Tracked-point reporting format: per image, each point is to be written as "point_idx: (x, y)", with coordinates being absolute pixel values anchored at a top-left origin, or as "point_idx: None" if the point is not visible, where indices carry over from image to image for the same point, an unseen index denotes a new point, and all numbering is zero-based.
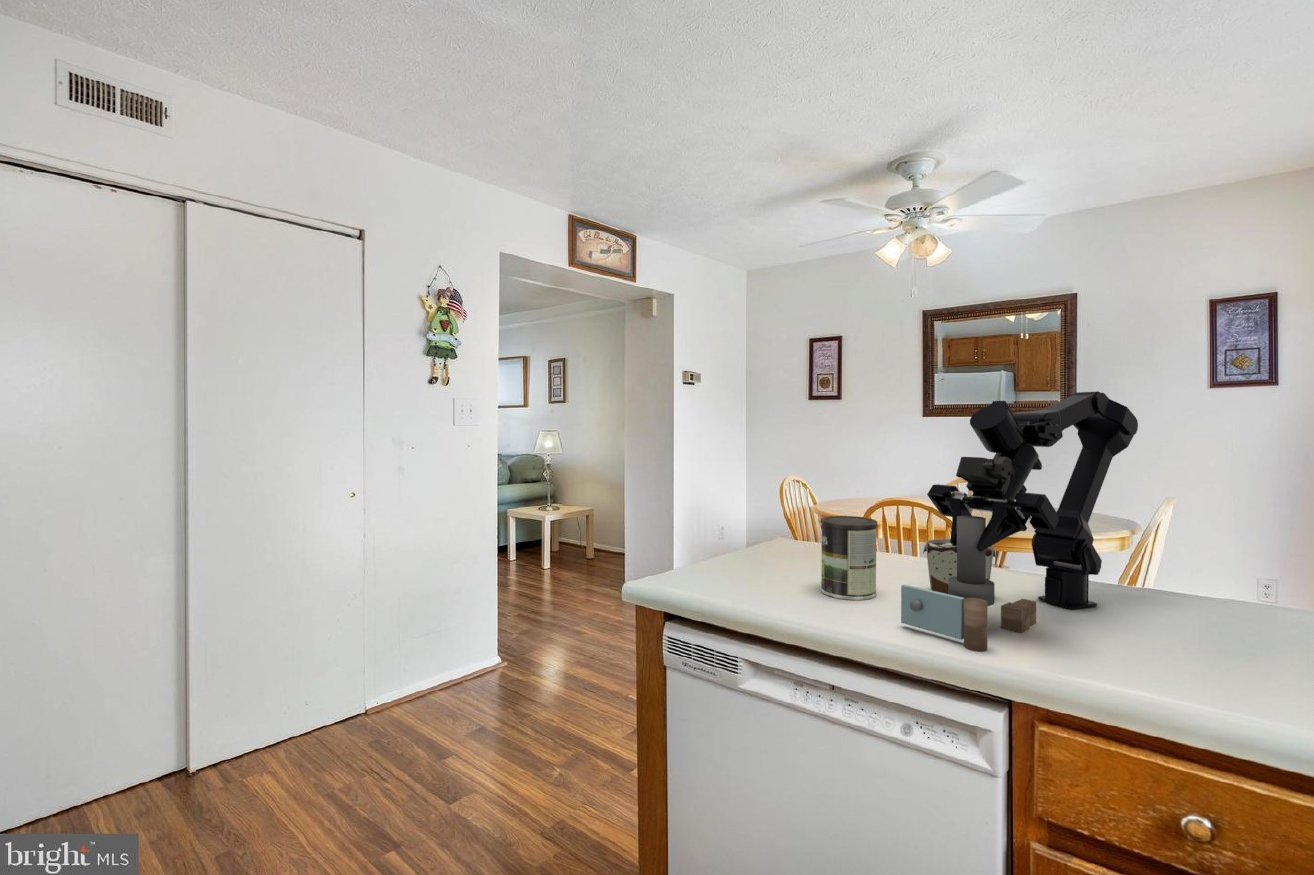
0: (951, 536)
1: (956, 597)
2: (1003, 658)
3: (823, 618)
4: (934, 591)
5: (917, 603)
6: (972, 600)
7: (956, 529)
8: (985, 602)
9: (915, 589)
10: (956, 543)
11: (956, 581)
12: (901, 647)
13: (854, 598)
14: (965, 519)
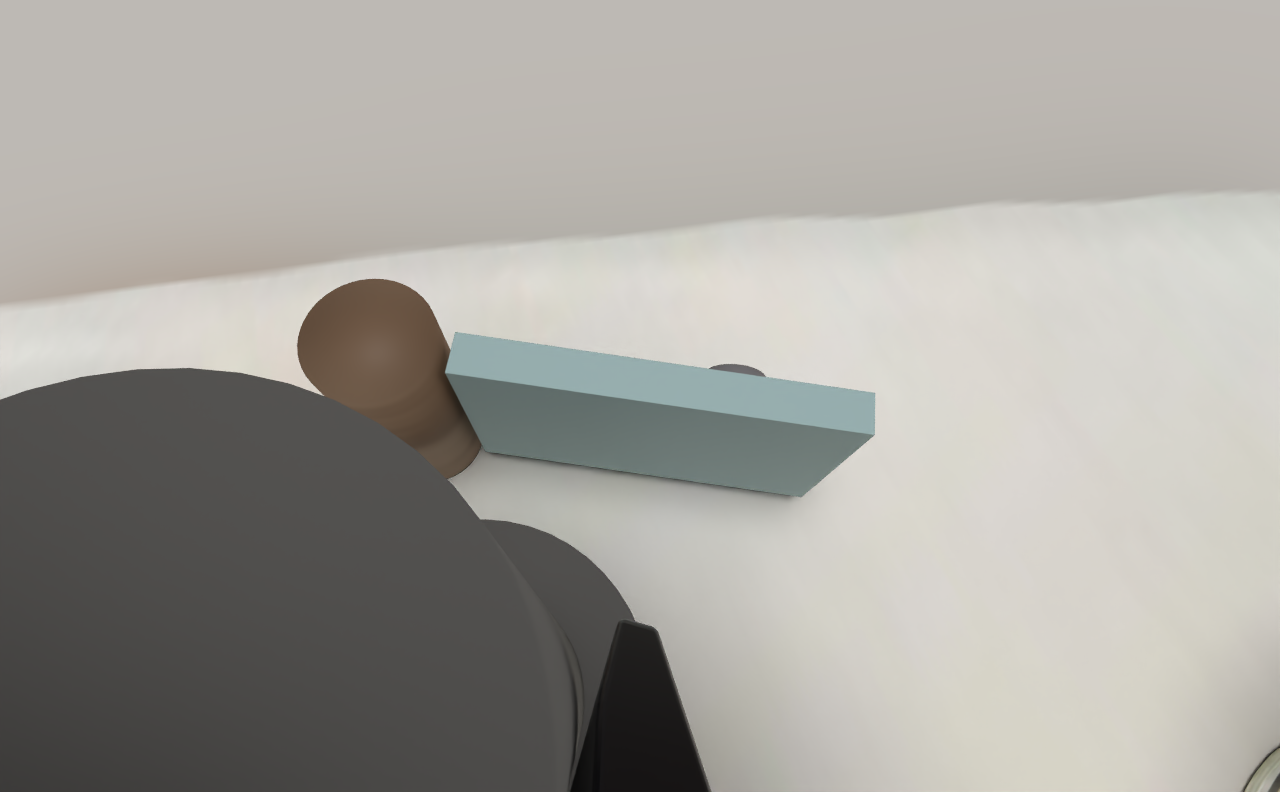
0: (663, 684)
1: (490, 347)
2: (308, 384)
3: (1103, 344)
4: (649, 392)
5: (721, 367)
6: (387, 333)
7: (600, 777)
8: (309, 341)
9: (767, 377)
10: (590, 718)
11: (564, 602)
12: (676, 238)
13: (1264, 772)
14: (225, 377)
